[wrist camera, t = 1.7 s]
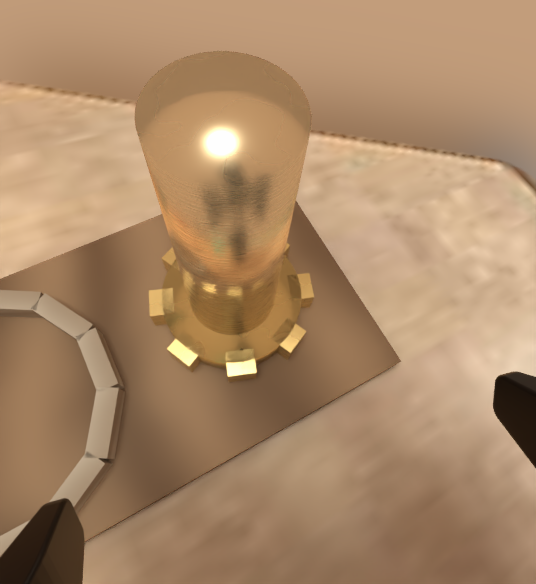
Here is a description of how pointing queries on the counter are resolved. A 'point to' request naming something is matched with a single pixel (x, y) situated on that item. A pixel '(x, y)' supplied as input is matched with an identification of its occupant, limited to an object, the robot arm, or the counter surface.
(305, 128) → the gold piece
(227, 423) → the carrier plate
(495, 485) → the counter surface
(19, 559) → the robot arm
